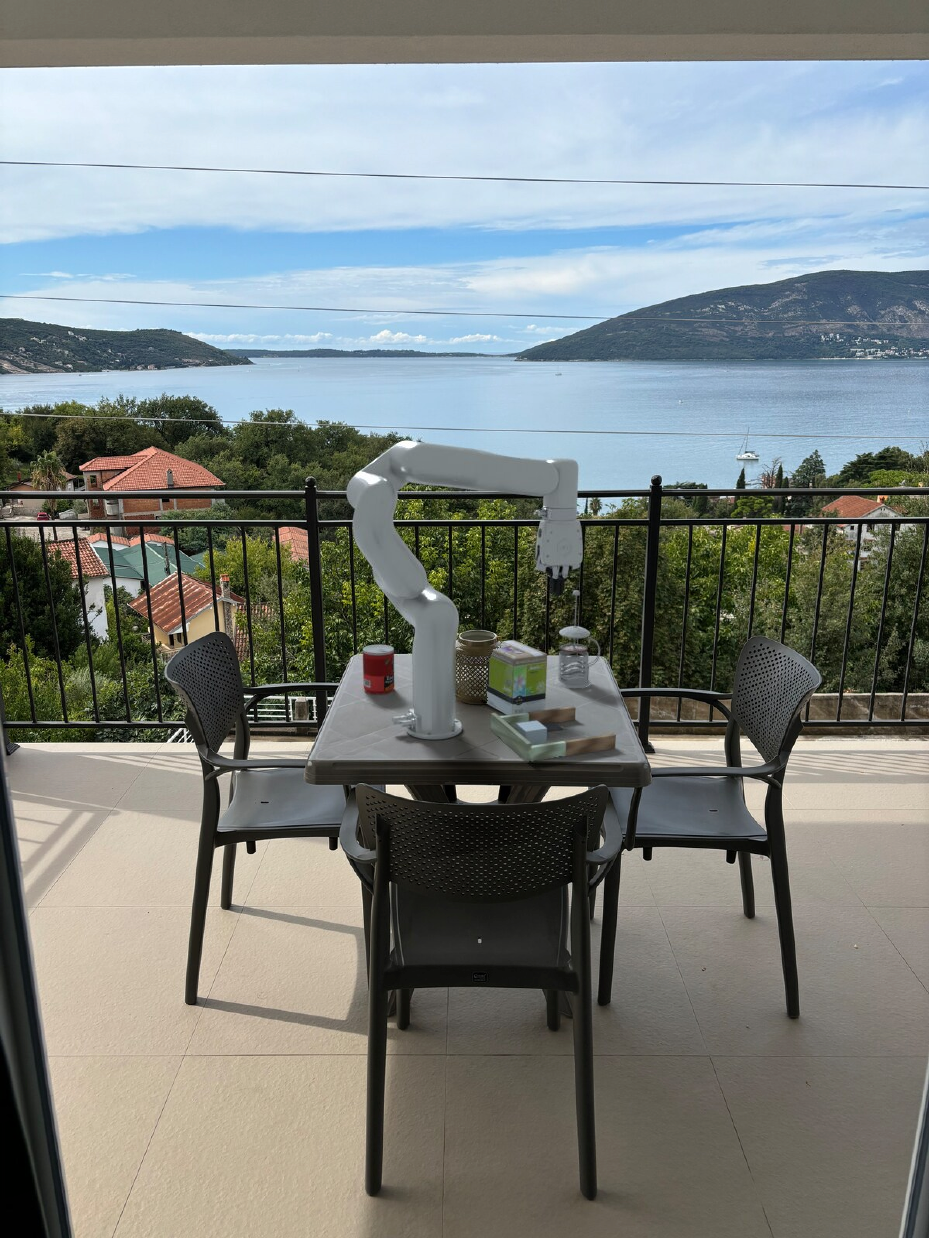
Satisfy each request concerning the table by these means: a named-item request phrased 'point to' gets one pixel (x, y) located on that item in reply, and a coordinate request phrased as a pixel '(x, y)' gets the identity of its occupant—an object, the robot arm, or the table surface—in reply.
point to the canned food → (378, 669)
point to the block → (533, 732)
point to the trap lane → (524, 748)
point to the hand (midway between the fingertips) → (557, 594)
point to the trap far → (552, 726)
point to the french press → (574, 657)
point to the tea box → (517, 678)
